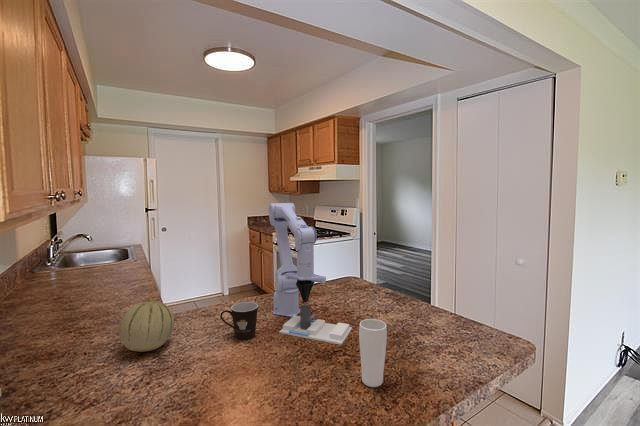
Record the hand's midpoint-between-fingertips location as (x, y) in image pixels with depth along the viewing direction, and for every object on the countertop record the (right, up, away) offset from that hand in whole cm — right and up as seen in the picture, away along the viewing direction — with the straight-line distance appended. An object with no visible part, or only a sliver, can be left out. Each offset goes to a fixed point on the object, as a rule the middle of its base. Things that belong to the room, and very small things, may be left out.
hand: (305, 301), depth 108 cm
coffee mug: (-21, -10, -4) cm, 24 cm away
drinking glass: (+18, -12, -29) cm, 36 cm away
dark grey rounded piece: (+1, -9, +4) cm, 10 cm away
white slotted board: (+4, -10, -1) cm, 11 cm away
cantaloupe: (-47, -11, -13) cm, 50 cm away
